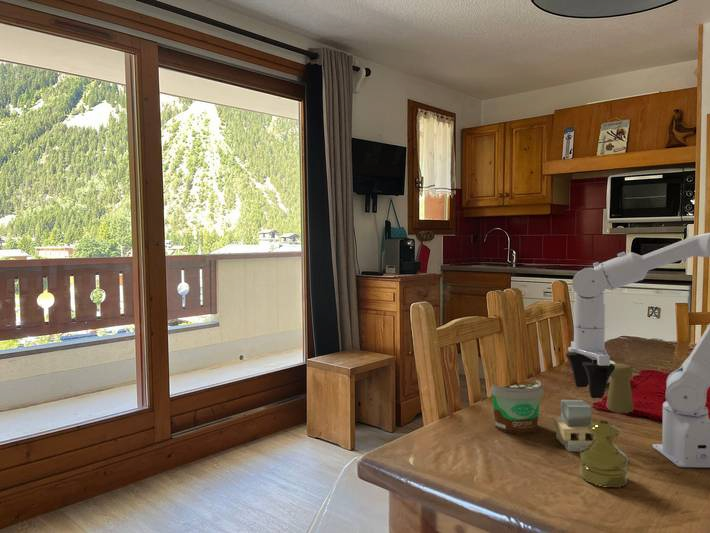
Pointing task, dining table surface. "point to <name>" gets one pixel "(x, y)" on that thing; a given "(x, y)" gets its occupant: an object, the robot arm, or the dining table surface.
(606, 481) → the olive shiny rounded piece
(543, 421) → the dining table surface
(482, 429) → the dining table surface
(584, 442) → the dock
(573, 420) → the stacked blocks
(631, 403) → the cork
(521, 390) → the food container
